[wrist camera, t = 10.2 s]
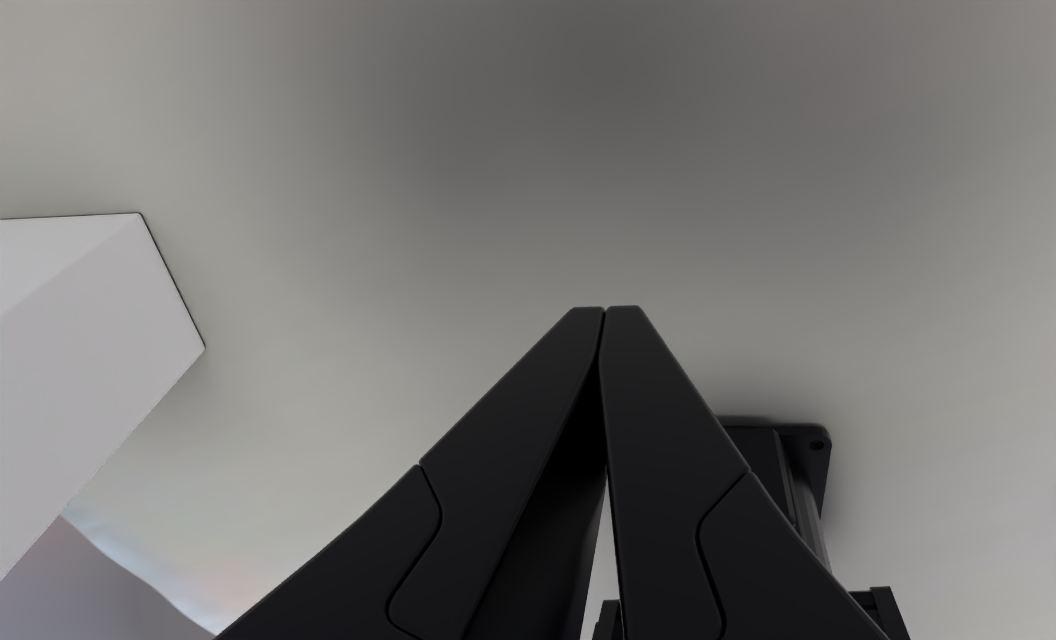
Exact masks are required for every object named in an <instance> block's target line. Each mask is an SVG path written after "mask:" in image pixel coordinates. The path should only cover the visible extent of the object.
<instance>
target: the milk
mask: <svg viewBox="0 0 1056 640" xmlns="http://www.w3.org/2000/svg"><path fill="white" fill-rule="evenodd" d="M204 350H205V347H204V344H203V342H202V340H201V338H200V336H199V334H198V332H197V330H196V328H195V326H194V324H193V322H192V320H191V317H190V315H189V313H188V311H187V309H186V307H185V305H184V303H183V301H182V299H181V297H180V295H179V293H178V291H177V289H176V287H175V285H174V282H173V280H172V278H171V276H170V274H169V272H168V270H167V268H166V266H165V264H164V262H163V260H162V258H161V256H160V254H159V252H158V250H157V247H156V245H155V243H154V241H153V239H152V237H151V235H150V233H149V231H148V229H147V227H146V225H145V223H144V221H143V219H142V217H141V215H140V214H138V213H133V214H112V215H92V216H71V217H51V218H30V219H10V220H0V581H1V580H2V579H3V577H4V576H5V575H6V574H7V573H8V572H9V571H10V570H11V568H12V567H13V566H14V565H15V564H16V563H17V562H18V561H19V559H20V558H21V557H22V556H23V555H24V554H25V553H26V551H27V550H28V549H29V548H30V547H31V545H33V544H34V542H35V541H36V540H37V539H38V538H39V537H40V535H42V533H43V532H44V531H45V530H46V529H47V528H48V527H49V526H50V524H51V523H52V522H53V521H54V520H55V519H56V517H57V516H58V515H59V514H60V513H61V512H62V511H63V510H64V509H65V507H66V506H67V505H68V504H69V503H70V502H71V501H72V500H73V498H74V497H75V496H76V495H77V494H78V493H79V492H80V490H81V489H82V488H83V487H84V486H85V485H86V484H87V483H88V481H89V480H90V479H91V478H92V477H93V476H94V475H95V473H96V472H97V471H98V470H99V469H100V468H101V467H102V466H103V464H104V463H105V462H106V461H107V460H108V459H109V458H110V457H111V455H112V454H113V453H114V452H115V451H116V450H117V449H118V447H119V446H120V445H121V444H122V443H123V442H124V441H125V440H126V438H127V437H128V436H129V435H130V434H131V433H132V432H133V431H134V429H135V428H136V427H137V426H138V425H139V424H140V423H141V421H142V420H143V419H144V418H145V417H146V416H147V415H148V414H149V412H150V411H151V410H152V409H153V408H154V407H155V406H156V404H157V403H158V402H159V401H160V400H161V399H162V398H163V397H164V395H165V394H166V393H167V392H168V391H169V390H170V389H171V388H172V386H173V385H174V384H175V383H176V382H177V381H178V380H179V378H180V377H181V376H182V375H183V374H184V373H185V372H186V371H187V369H188V368H189V367H190V366H191V365H192V364H193V363H194V362H195V360H196V359H197V358H198V357H199V356H200V355H201V354H202V352H203V351H204Z"/></svg>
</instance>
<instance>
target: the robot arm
mask: <svg viewBox="0 0 1056 640" xmlns="http://www.w3.org/2000/svg"><path fill="white" fill-rule="evenodd" d="M814 440H820V441H818V442H812V441H814ZM831 447H832V444H831V439H830V436H829V433H828V432H827V431H826V430H825V429H823V428H819V427H751V426H721V424H720V423H719V421H718V420H717V418H716V417H715V415H714V414H713V412H712V411H711V410H710V408H709V407H708V405H707V404H706V402H705V401H704V399H703V398H702V396H701V395H700V393H699V392H698V390H697V389H696V388H695V386H694V385H693V383H692V382H691V380H690V379H689V377H688V376H687V374H686V373H685V371H684V370H683V369H682V367H681V366H680V364H679V363H678V361H677V360H676V358H675V357H674V355H673V354H672V352H671V351H670V350H669V348H668V347H667V345H666V344H665V342H664V341H663V339H662V338H661V336H660V335H659V333H658V332H657V330H656V329H655V328H654V326H653V325H652V323H651V322H650V320H649V319H648V317H647V316H646V314H645V313H644V311H643V310H642V309H641V308H640V307H639V306H636V305H633V306H611V307H609V308H607V310H606V311H605V309H604V308H603V307H599V306H598V307H574V308H572V309H571V310H569V311H568V312H567V313H566V314H565V315H564V316H563V317H562V318H561V319H560V320H559V321H558V322H557V323H556V324H555V325H554V326H553V327H552V328H551V329H550V330H549V331H548V332H547V333H546V334H545V335H544V336H543V337H542V338H541V339H540V340H539V341H538V342H537V343H536V344H535V345H534V346H533V347H532V348H531V349H530V350H529V351H528V352H527V353H526V354H525V355H524V356H523V357H522V358H521V359H520V360H519V361H518V362H517V363H516V364H515V365H514V366H513V367H512V368H511V369H510V370H509V371H508V372H507V373H506V374H505V375H504V376H503V377H502V378H501V379H500V380H499V381H498V382H497V383H496V384H495V385H494V386H493V387H492V388H491V389H490V390H489V391H488V392H487V393H486V394H485V395H484V396H483V397H482V398H481V399H480V400H479V401H478V402H477V403H476V404H475V405H474V406H473V407H472V408H471V409H470V410H469V411H468V412H467V413H466V414H465V415H464V416H463V417H462V418H461V419H460V420H459V421H458V422H457V423H456V424H455V425H454V426H453V427H452V428H451V429H450V430H449V431H448V432H447V433H446V434H445V435H444V436H443V437H442V438H441V439H440V440H439V441H438V442H437V443H436V444H435V445H434V446H433V447H432V448H431V449H430V450H429V451H428V452H427V453H426V454H425V455H424V456H423V457H422V458H421V459H420V460H419V465H417V464H416V465H414V466H412V467H411V468H410V469H409V470H408V471H407V472H406V473H405V474H404V475H403V476H402V477H401V478H400V479H399V480H398V481H397V482H396V483H395V484H394V485H393V486H392V487H391V488H390V489H389V490H388V491H387V492H386V493H385V494H384V495H383V496H382V497H381V498H380V499H379V500H377V501H376V502H375V503H374V504H373V505H372V506H371V507H370V508H369V509H368V510H367V511H366V512H365V513H364V514H363V515H362V516H361V517H359V518H358V519H357V520H356V521H355V522H354V523H352V524H351V525H350V526H349V527H348V528H347V529H345V530H344V531H343V532H342V533H341V534H340V535H338V536H337V537H336V538H335V539H334V540H333V541H331V542H330V543H329V544H328V545H327V546H326V547H324V548H323V549H322V550H321V551H320V552H319V553H317V554H316V555H315V556H314V557H312V558H311V559H310V560H309V561H308V562H306V563H305V564H304V565H303V566H301V567H300V568H299V569H298V570H297V571H295V572H294V573H293V574H292V575H290V576H289V577H288V578H287V579H286V580H284V581H283V582H282V583H281V584H280V585H278V586H277V587H276V588H275V589H273V590H272V591H271V592H270V593H269V594H267V595H266V596H265V597H264V598H262V599H261V600H260V601H259V602H258V603H256V604H255V605H254V606H253V607H251V608H250V609H249V610H248V611H247V612H245V613H244V614H243V615H242V616H240V617H239V618H238V619H237V620H236V621H234V622H233V623H232V624H231V625H230V626H228V627H227V628H226V629H225V630H223V631H222V632H221V633H220V634H219V635H217V636H216V637H215V638H213V639H212V640H580V635H581V629H582V624H583V618H584V612H585V606H586V600H587V594H588V588H589V583H590V577H591V571H592V565H593V559H594V553H595V548H596V542H597V536H598V530H599V524H600V518H601V512H602V507H603V501H604V494H605V487H606V480H607V476H608V486H609V496H610V506H611V516H612V526H613V536H614V546H615V556H616V565H617V575H618V585H619V595H620V599H618V600H604V601H603V604H602V608H601V613H600V617H599V621H598V622H596V625H595V629H594V633H593V638H592V640H910V637H909V635H908V632H907V629H906V627H905V624H904V622H903V619H902V617H901V614H900V611H899V609H898V606H897V604H896V601H895V599H894V596H893V593H892V591H891V588H890V586H886V587H870V590H869V591H848V592H847V591H846V590H845V589H844V587H843V586H842V585H841V584H840V583H839V582H838V581H837V580H836V578H835V577H834V576H833V575H832V571H831V567H830V563H829V559H828V554H827V550H826V546H825V541H824V537H823V533H822V529H821V524H820V517H821V511H822V504H823V498H824V492H825V485H826V479H827V473H828V466H829V460H830V454H831Z"/></svg>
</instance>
